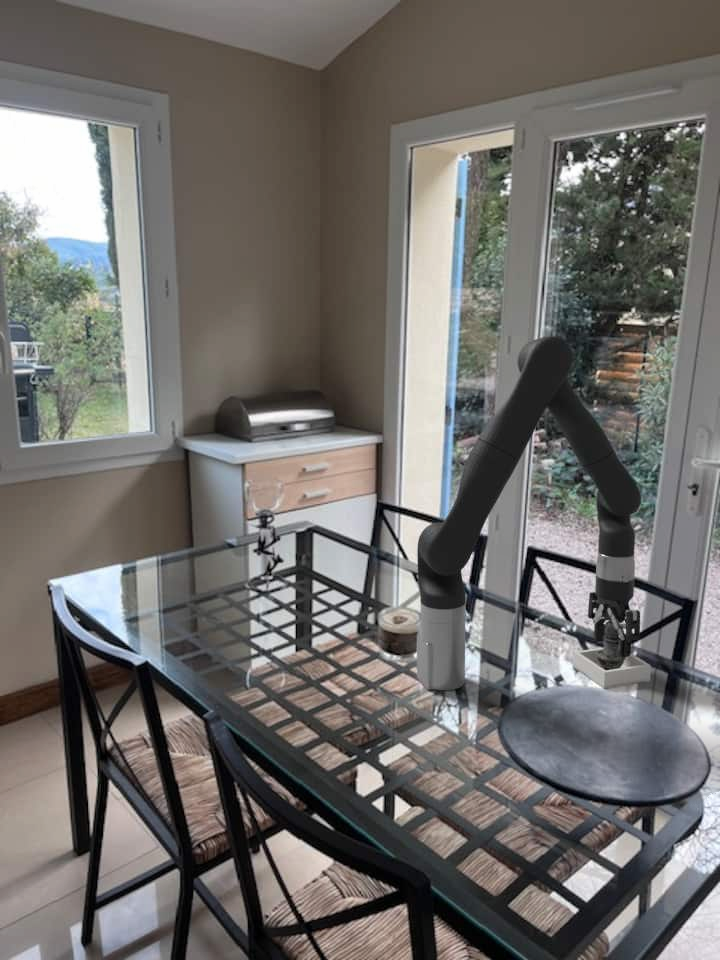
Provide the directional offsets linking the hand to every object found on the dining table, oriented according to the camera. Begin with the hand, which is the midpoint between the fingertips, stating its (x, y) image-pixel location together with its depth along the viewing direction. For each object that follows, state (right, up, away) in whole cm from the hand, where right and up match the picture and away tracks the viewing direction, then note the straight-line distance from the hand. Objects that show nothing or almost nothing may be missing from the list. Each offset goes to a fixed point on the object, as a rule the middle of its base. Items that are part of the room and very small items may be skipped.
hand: (611, 648), depth 151 cm
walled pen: (0, -6, +1) cm, 6 cm away
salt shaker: (0, -5, +1) cm, 5 cm away
